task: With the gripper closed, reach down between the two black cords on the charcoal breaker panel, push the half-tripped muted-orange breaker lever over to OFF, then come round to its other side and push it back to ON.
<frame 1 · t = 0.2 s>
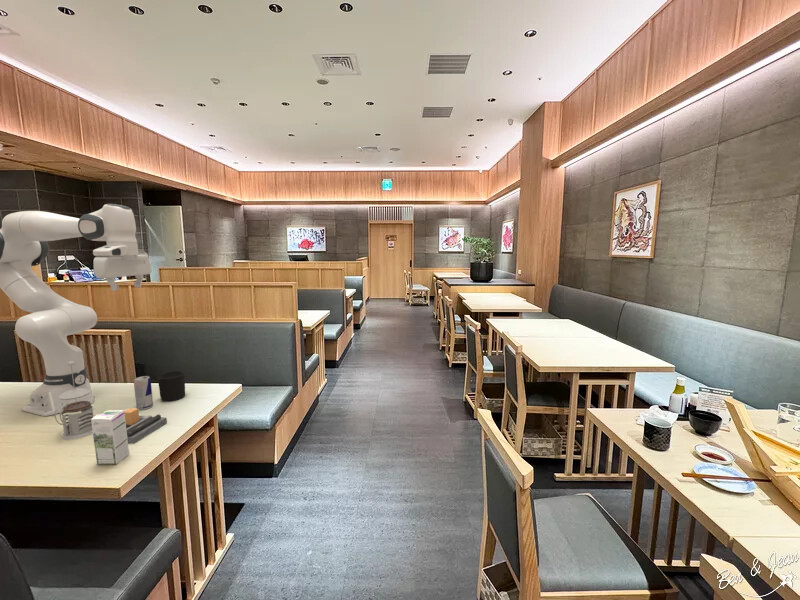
hand: (127, 288, 131), 47 cm above the table, tool pointing down, fingers open, 8 cm apart
pen holder: (173, 398, 151), on the table
french press: (77, 434, 121), on the table
breaker panel: (132, 431, 123), on the table
syrup box: (113, 460, 107), on the table
breaker lever: (131, 417, 122), point 5 cm above the table, slide at 3.0 cm
energy drink: (145, 407, 141), on the table
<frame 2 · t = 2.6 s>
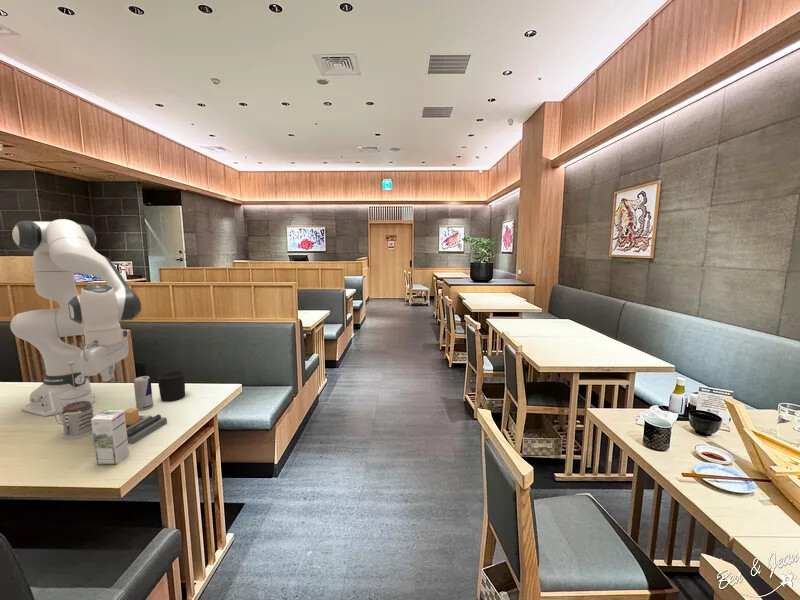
hand: (108, 379, 114), 21 cm above the table, tool pointing down, fingers closed
nothing on the table moved.
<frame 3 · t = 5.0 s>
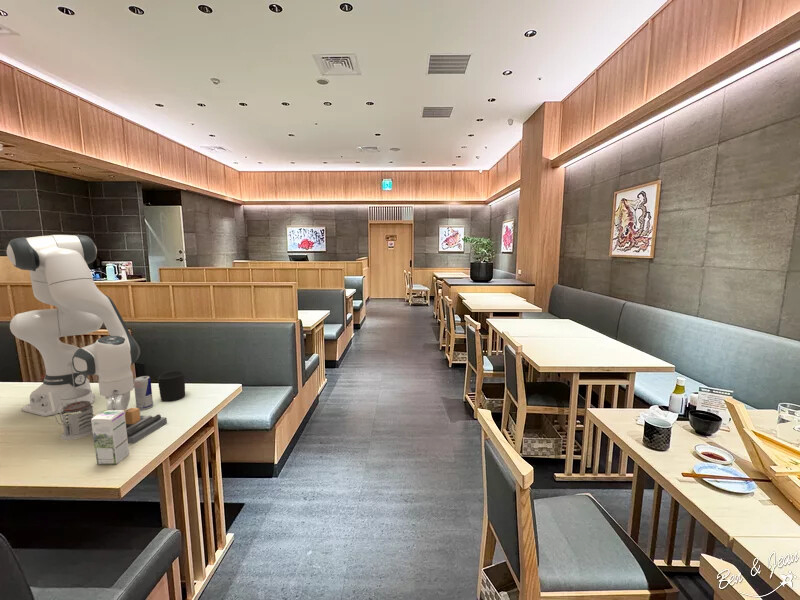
hand: (121, 425, 119), 4 cm above the table, tool pointing down, fingers closed
breaker lever: (132, 417, 123), point 5 cm above the table, slide at 3.4 cm, touching gripper
everything else where it was.
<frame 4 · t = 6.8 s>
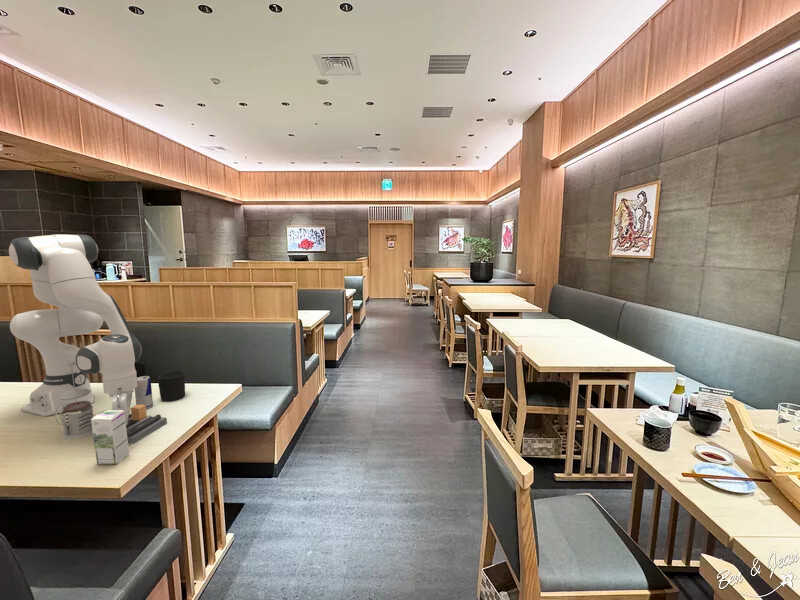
hand: (125, 423, 120), 4 cm above the table, tool pointing down, fingers closed
breaker lever: (138, 413, 125), point 5 cm above the table, slide at 6.1 cm
everything else where it was.
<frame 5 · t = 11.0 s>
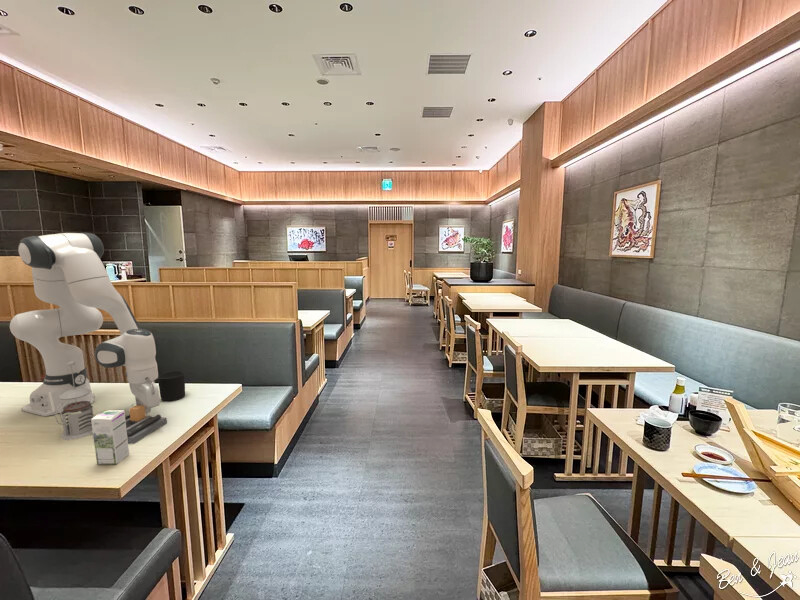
hand: (146, 411, 129), 4 cm above the table, tool pointing down, fingers closed
breaker lever: (137, 414, 125), point 5 cm above the table, slide at 5.5 cm, touching gripper
everything else where it was.
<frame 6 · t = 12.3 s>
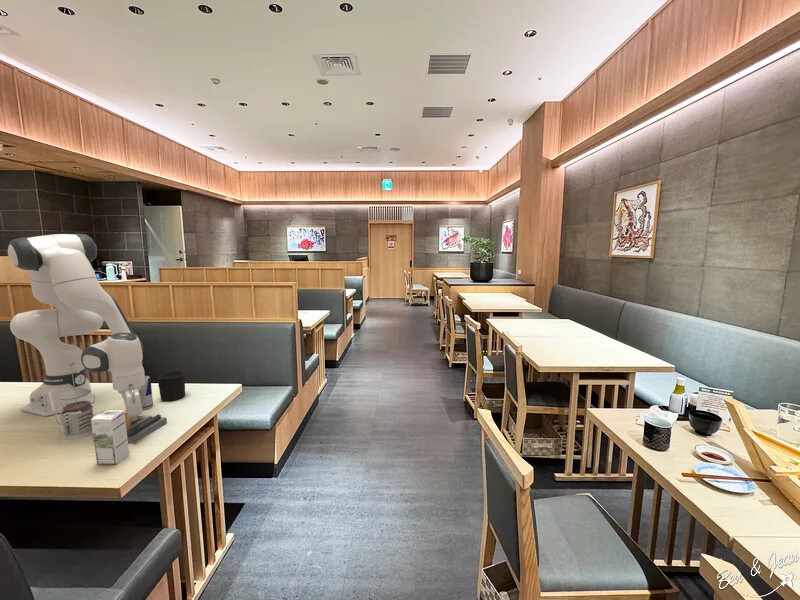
hand: (133, 419, 123), 4 cm above the table, tool pointing down, fingers closed
breaker lever: (122, 422, 119), point 5 cm above the table, slide at -0.4 cm, touching gripper
everything else where it was.
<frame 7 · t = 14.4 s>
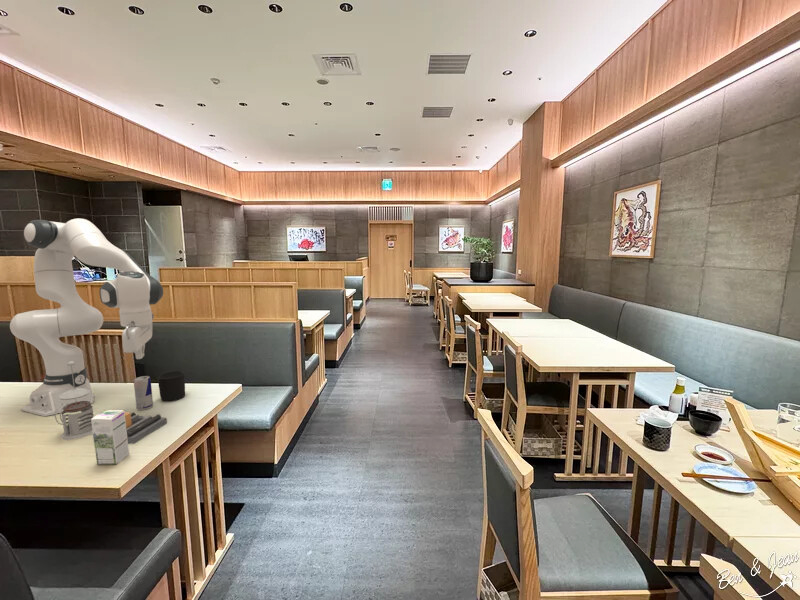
hand: (140, 357, 125), 24 cm above the table, tool pointing down, fingers closed
breaker lever: (123, 421, 119), point 5 cm above the table, slide at -0.1 cm
everything else where it was.
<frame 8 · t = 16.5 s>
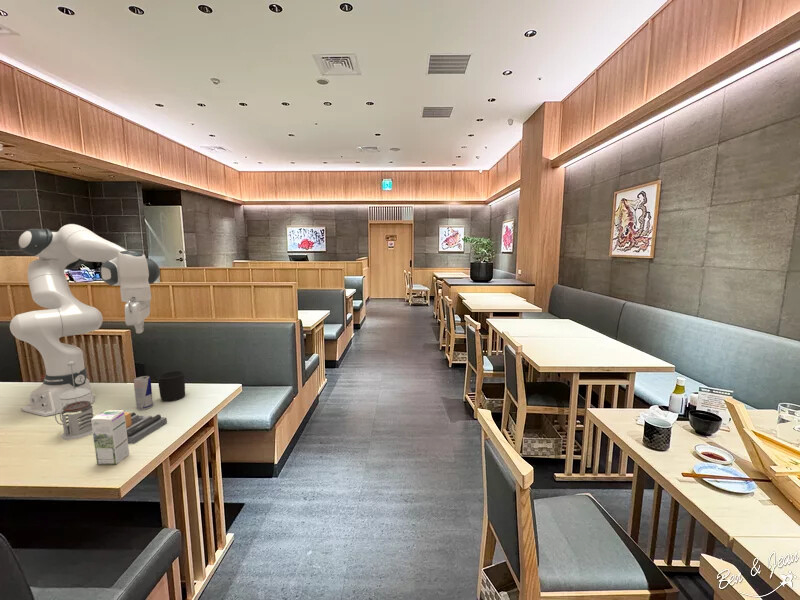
hand: (139, 332, 133), 31 cm above the table, tool pointing down, fingers closed
nothing on the table moved.
at the end: breaker lever slide at -0.1 cm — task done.
